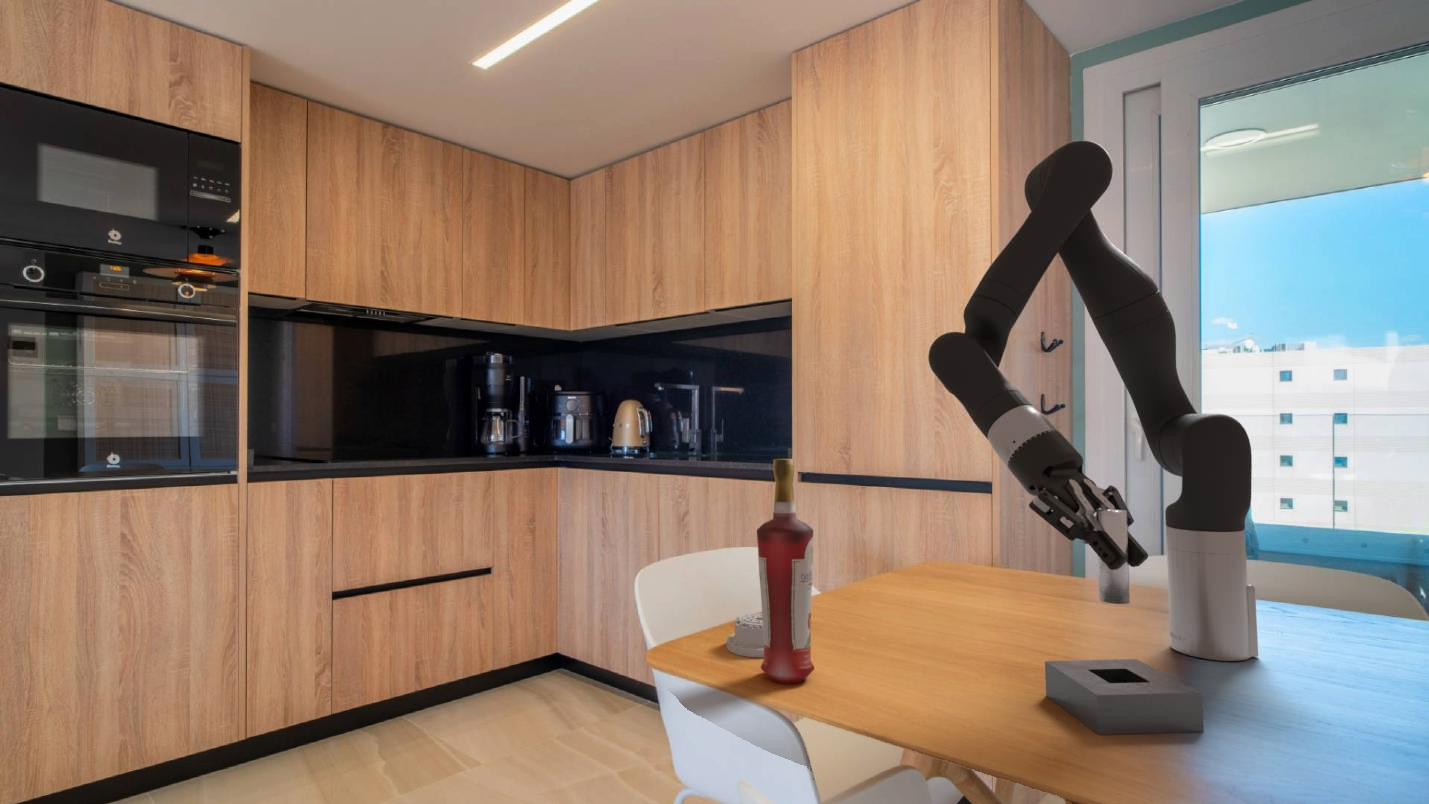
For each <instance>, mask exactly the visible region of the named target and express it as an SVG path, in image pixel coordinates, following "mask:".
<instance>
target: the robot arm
mask: <svg viewBox="0 0 1429 804" xmlns="http://www.w3.org/2000/svg"><path fill="white" fill-rule="evenodd" d="M1113 171H1114V170H1113V161H1112V159H1111V156H1110V154H1109V153H1108V152H1107V151H1106V149H1105V148H1104V147H1103V146H1102V145H1101V144H1099V143H1098V142H1095V141H1092V140H1086V139H1080V140H1074V141H1071V142H1068V143H1066V144H1064V145H1062V146H1060V147H1059V148H1057V149H1055V150H1053V152H1052V153H1050V154H1049V155H1047V157H1045V158H1044V159H1042V160H1041V161H1040V162H1039V163H1038V164H1037V165H1035V167H1034V168H1032V170H1030V171H1029V173H1028V175H1027V177H1026V180H1025V182H1024V197H1025V201H1026V202H1027V205H1028V207H1029V210H1030V213H1029V214H1028V216H1027V218H1026V219H1025V220H1024V222H1023V223H1022V225H1021V226H1020V228H1019V229H1018V230H1017V232H1016V233H1015V235H1014V236H1012V238H1011V239H1010V241H1009V242H1008V243H1007V244H1006V246H1005V247H1004V248H1003V249H1002V250H1001V252H1000V253H999V254H998V255H997V257H996V258H995V259H994V261H993V262H992V263H991V265H990V266H989V267H988V269H987V270H986V272H985V273H984V275H983V276H982V278H981V280H980V281H979V283H978V285H977V286H976V288H975V290H974V291H973V294H972V295H971V297H970V298H969V300H968V302H967V303H966V304H965V305H966V306H965V308H964V310H963V321H964V326H965V327H964V328H965V329H964V332H961V331H951V332H946V333H943V334H942V335H939V336H938V337H937V338H936V339H935V340H934V341H933V342H932V344H931V346H930V348H929V350H928V363H929V367H930V369H931V371H932V372H933V374H934V375H935V377H937V379H938V381H940V383H941V384H942V385H943V387H944V388H945V390H947V391H948V392H949V393H950V394H951V395H953V396H954V397H955V398H956V399H957V400H958V401H959V403H960V404H961V405H962V406H963V407H964V409H965V410H966V412H967V414H968V415H969V417H970V419H971V420H972V422H973V423H974V424H975V426H976V427H977V428H978V430H979V431H980V433H982V435H983V436H984V437H985V438H986V439H987V441H989V443H990V445H991V446H992V448H993V450H994V452H995V453H996V455H997V456H998V457H999V459H1000V460H1001V461H1002V463H1004V465H1005V466H1006V467H1007V468H1008V470H1009V471H1010V473H1012V475H1013V476H1014V477H1015V479H1016V480H1017V481H1018V482H1019V483H1020V485H1021V486H1022V487H1023V488H1024V490H1025V491H1026V492H1027V493H1028V494H1029V495H1031V496H1033V497H1034V498H1033V499H1031V501H1030V503H1029V504H1028V507H1029V508H1030V509H1031V510H1032V511H1033V512H1034V513H1036V514H1037V515H1038V516H1039V517H1040V518H1042V519H1043V520H1044V521H1045V522H1047V523H1048V524H1049V525H1050V526H1052V527H1053V528H1054V529H1055V530H1056V531H1057V532H1058V533H1060V534H1061V535H1062V536H1064V537H1065V538H1066V539H1067V540H1069V541H1075V540H1076V539H1077V540H1080V541H1081V543H1083V544H1085V545H1089V546H1090V548H1091V549H1092V550H1093V551H1094V552H1095V554H1096V555H1097V557H1098V556H1099V557H1100V558H1101V560H1102V561H1103V562H1104V563H1105V564H1106V565H1107V566H1108V567H1109V569H1111V570H1116V569H1119V568H1120V567H1121V566H1122V565H1123V564H1125V563H1126V562H1127V559H1128V563H1129V566H1130V567H1132V568H1135V567H1140V566H1141V565H1142V564H1143V563H1145V561H1146V560H1147V559H1148V558H1149V554H1148V552H1147V550H1145V549H1144V548H1143V546H1142V545H1141V544H1140V543H1139V542H1138V541H1137V540H1136V538H1134V537H1133V535H1132V534H1131V533H1130V532H1129V530H1128V528H1129V527H1130V526H1132V525H1133V524H1134V522H1135V520H1134V518H1133V516H1132V514H1131V512H1130V510H1129V509H1128V506H1127V505H1126V502H1125V501H1124V499H1123V497H1122V495H1121V494H1120V492H1119V489H1118V488H1117V487H1115V486H1114V485H1111V484H1110V485H1109V486H1107V488H1106V489H1105V488H1102V487H1099V486H1097V484H1096V483H1095V481H1093V480H1092V479H1091V478H1089V477H1088V476H1087V475H1085V474H1084V472H1083V465H1084V458H1083V456H1082V454H1080V452H1079V451H1078V450H1077V449H1076V448H1075V447H1074V446H1073V445H1072V443H1071V442H1070V441H1069V440H1068V439H1067V438H1066V437H1065V436H1064V435H1063V434H1062V433H1061V432H1060V430H1058V428H1057V427H1056V426H1055V425H1054V424H1053V423H1052V422H1051V421H1050V420H1049V418H1048V417H1046V416H1045V415H1044V414H1043V413H1042V412H1040V411H1039V410H1038V408H1037V409H1036V408H1035V406H1034V405H1033V404H1032V403H1031V402H1030V401H1029V400H1028V399H1027V398H1026V397H1025V395H1024V394H1023V393H1022V392H1021V391H1020V390H1019V389H1018V387H1016V386H1015V385H1014V384H1012V383H1011V382H1010V381H1009V380H1008V378H1007V377H1005V375H1004V374H1003V373H1002V371H1001V370H1000V364H1001V362H1002V359H1003V356H1004V353H1005V349H1006V347H1007V345H1008V341H1009V340H1008V339H1009V336H1010V334H1011V330H1012V329H1013V328H1014V326H1015V324H1016V323H1017V321H1018V319H1019V318H1020V317H1021V314H1022V313H1023V311H1024V309H1025V307H1026V306H1027V304H1028V302H1029V300H1030V298H1031V296H1032V295H1033V294H1034V291H1035V290H1036V288H1037V286H1038V285H1039V283H1040V281H1041V280H1042V278H1043V277H1044V275H1045V273H1046V272H1047V270H1048V268H1049V267H1050V266H1051V263H1052V262H1053V260H1054V259H1055V257H1056V256H1057V254H1058V255H1059V258H1061V261H1062V263H1063V265H1064V267H1065V268H1066V271H1067V272H1068V275H1069V276H1070V279H1071V280H1072V283H1073V284H1074V286H1075V288H1076V289H1077V292H1078V293H1079V295H1080V297H1081V299H1082V301H1083V303H1084V305H1085V308H1086V309H1087V312H1088V314H1089V317H1090V318H1091V321H1092V323H1093V325H1094V327H1095V329H1096V331H1097V333H1098V336H1100V339H1101V340H1102V342H1103V344H1104V346H1105V348H1106V350H1107V351H1108V353H1109V355H1110V357H1111V359H1112V362H1113V363H1114V366H1115V369H1116V370H1117V372H1118V374H1119V376H1120V378H1121V380H1122V382H1123V384H1124V386H1125V388H1126V390H1127V392H1128V394H1129V396H1130V398H1131V400H1132V403H1133V406H1134V408H1135V411H1136V414H1137V417H1138V419H1139V422H1140V425H1141V427H1142V431H1143V432H1144V436H1145V438H1146V439H1145V440H1146V442H1147V444H1148V447H1149V449H1150V451H1151V453H1152V455H1153V457H1154V459H1155V461H1156V462H1157V463H1158V465H1159V466H1160V467H1161V468H1163V470H1165V471H1166V472H1167V473H1169V474H1172V475H1174V476H1177V477H1179V478H1180V477H1181V493H1180V495H1179V497H1178V499H1177V500H1176V501H1174V502H1172V503H1170V504H1169V505H1167V506H1166V508H1165V515H1164V516H1165V533H1166V534H1165V537H1166V539H1165V541H1166V558H1167V559H1166V560H1167V564H1166V565H1167V583H1168V589H1167V590H1168V605H1169V606H1168V608H1169V609H1168V610H1169V635H1170V647H1171V648H1172V649H1173V650H1175V651H1177V652H1179V653H1181V654H1184V655H1187V656H1191V657H1196V658H1202V659H1206V660H1212V661H1213V660H1214V661H1223V662H1224V661H1225V662H1239V661H1246V660H1248V659H1250V658H1254V657H1257V658H1258V657H1259V638H1258V625H1257V624H1258V623H1257V600H1256V587H1255V586H1254V585H1252V584H1250V583H1248V567H1247V565H1248V564H1247V548H1246V546H1247V545H1246V543H1247V542H1246V517H1247V515H1248V513H1249V511H1250V508H1251V503H1252V481H1253V480H1252V478H1253V477H1252V469H1253V465H1252V463H1253V462H1252V459H1253V457H1252V456H1253V455H1252V446H1251V442H1250V439H1249V438H1250V437H1249V436H1248V435H1249V434H1248V433H1247V431H1246V429H1245V427H1244V426H1243V425H1242V423H1241V422H1239V420H1237V419H1235V418H1234V417H1232V416H1230V415H1228V414H1225V413H1215V412H1214V413H1211V412H1210V413H1208V412H1207V413H1205V412H1204V413H1198V412H1197V411H1196V409H1195V408H1194V406H1193V404H1192V403H1191V401H1190V399H1189V398H1188V395H1187V393H1186V392H1185V390H1184V387H1183V385H1182V383H1181V379H1180V377H1179V374H1178V370H1177V369H1178V368H1177V334H1176V333H1177V332H1176V326H1175V321H1174V318H1173V315H1172V313H1171V311H1170V309H1169V307H1168V305H1167V303H1166V301H1165V299H1164V297H1163V295H1162V293H1161V291H1160V290H1159V287H1158V286H1157V284H1156V282H1155V280H1154V279H1153V277H1152V276H1151V275H1150V274H1149V273H1148V272H1147V271H1146V270H1145V269H1144V268H1143V267H1142V266H1140V265H1139V264H1138V263H1137V262H1135V261H1134V260H1133V259H1132V258H1131V257H1129V256H1128V255H1126V254H1125V252H1122V251H1121V250H1120V249H1119V248H1118V247H1117V246H1116V245H1114V243H1112V242H1111V240H1109V238H1108V237H1107V235H1105V233H1104V231H1103V230H1102V228H1101V226H1100V225H1099V222H1098V220H1097V217H1096V216H1095V215H1094V213H1093V212H1094V211H1093V210H1092V208H1093V207H1094V205H1096V204H1097V202H1098V201H1099V199H1100V198H1101V197H1102V196H1103V195H1104V193H1105V192H1106V191H1107V190H1108V189H1109V186H1110V185H1111V182H1112V179H1113ZM1098 509H1115V510H1125V511H1127V532H1128V558H1127V556H1126V554H1125V553H1124V552H1123V551H1122V550H1121V549H1120V548H1119V546H1118V545H1117V544H1116V543H1115V542H1114V541H1113V539H1112V538H1111V537H1110V536H1109V535H1108V534H1107V533H1106V532H1101V531H1102V530H1103V529H1102V527H1101V525H1100V524H1099V523H1098V521H1097V520H1096V515H1095V514H1096V510H1098Z"/></svg>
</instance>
